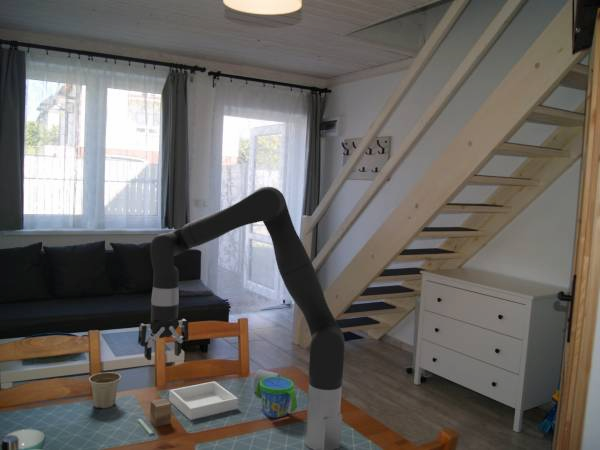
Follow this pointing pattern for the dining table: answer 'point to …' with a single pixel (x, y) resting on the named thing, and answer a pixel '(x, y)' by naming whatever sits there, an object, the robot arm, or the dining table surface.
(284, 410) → the snack cup
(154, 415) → the walnut block
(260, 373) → the ceramic mug
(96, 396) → the flower pot
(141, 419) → the sage mat
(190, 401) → the white bin
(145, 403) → the dining table surface
